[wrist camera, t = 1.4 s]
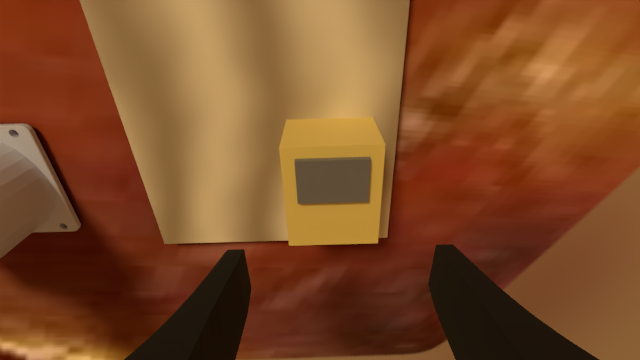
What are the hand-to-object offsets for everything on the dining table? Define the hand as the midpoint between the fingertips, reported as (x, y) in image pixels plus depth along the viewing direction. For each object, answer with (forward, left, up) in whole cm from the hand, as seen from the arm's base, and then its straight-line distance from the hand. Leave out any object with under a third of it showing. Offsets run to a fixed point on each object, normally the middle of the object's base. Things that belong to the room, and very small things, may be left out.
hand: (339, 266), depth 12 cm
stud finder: (0, 0, -9) cm, 9 cm away
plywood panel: (-4, +4, -10) cm, 12 cm away
